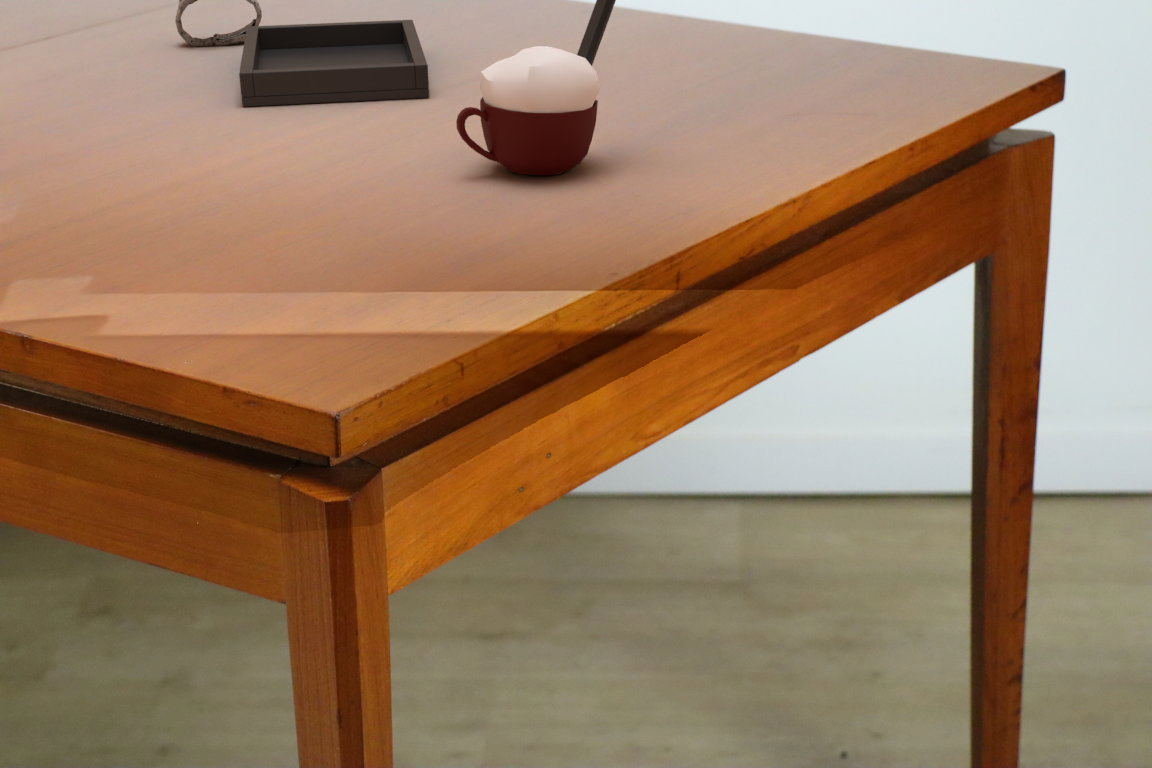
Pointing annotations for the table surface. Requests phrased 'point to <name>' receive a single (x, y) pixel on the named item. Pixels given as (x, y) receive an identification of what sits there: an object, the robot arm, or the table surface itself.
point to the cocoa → (541, 104)
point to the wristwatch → (218, 38)
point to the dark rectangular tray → (332, 63)
